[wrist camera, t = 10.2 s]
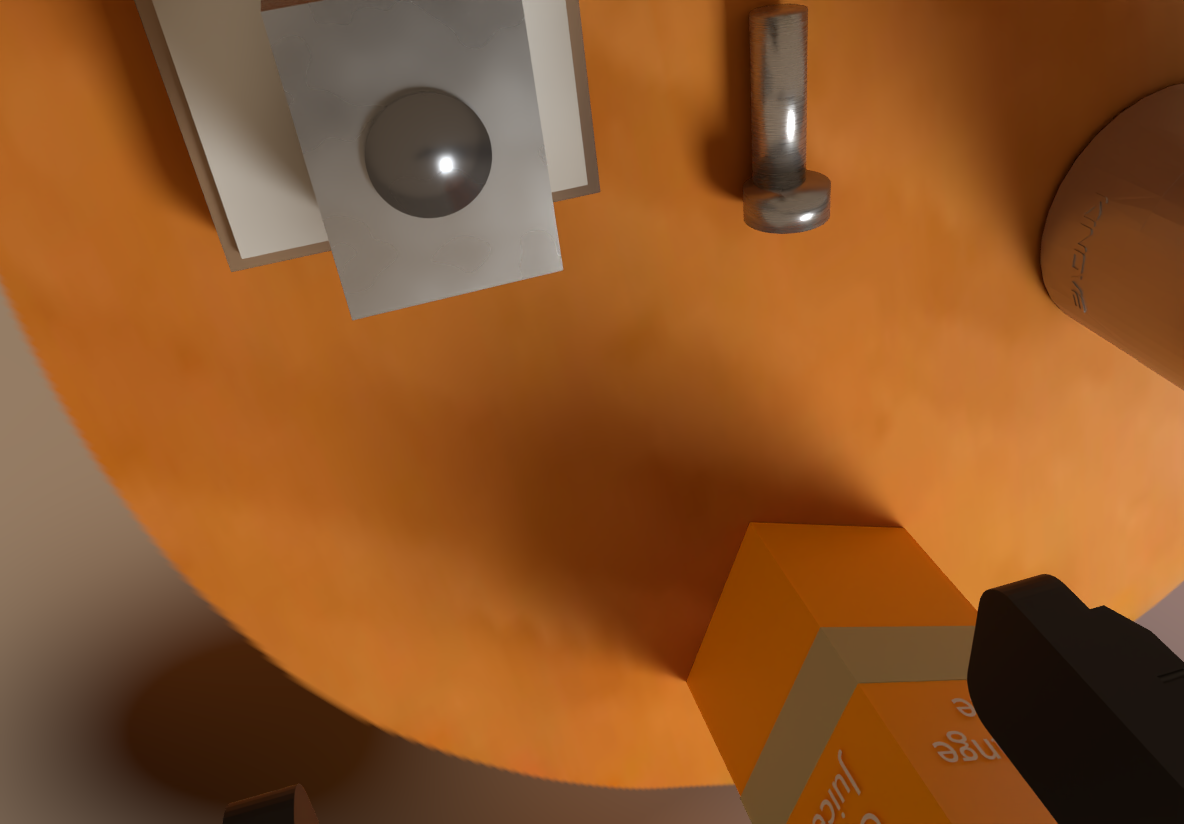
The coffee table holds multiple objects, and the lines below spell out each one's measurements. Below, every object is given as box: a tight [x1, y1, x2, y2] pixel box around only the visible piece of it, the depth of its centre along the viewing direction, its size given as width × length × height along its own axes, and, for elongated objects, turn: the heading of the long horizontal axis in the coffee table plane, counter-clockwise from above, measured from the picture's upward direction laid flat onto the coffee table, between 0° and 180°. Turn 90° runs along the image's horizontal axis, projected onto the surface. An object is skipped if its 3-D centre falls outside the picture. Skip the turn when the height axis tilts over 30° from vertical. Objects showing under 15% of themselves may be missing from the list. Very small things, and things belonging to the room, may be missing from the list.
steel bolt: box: [743, 4, 831, 234], centre depth 28 cm, size 6×3×3 cm, turn 6°
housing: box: [261, 0, 563, 320], centre depth 21 cm, size 4×6×6 cm
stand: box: [134, 0, 600, 272], centre depth 24 cm, size 10×8×2 cm
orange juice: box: [686, 522, 1058, 824], centre depth 33 cm, size 8×9×20 cm
